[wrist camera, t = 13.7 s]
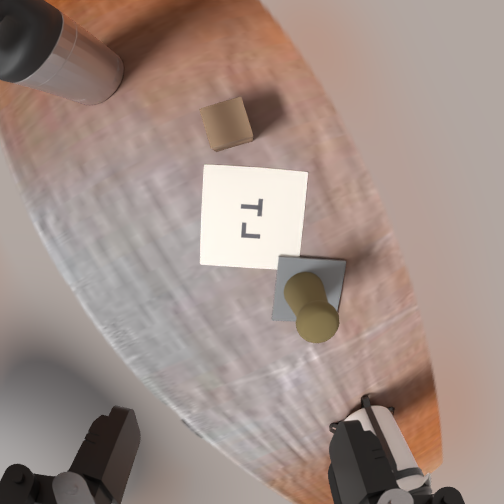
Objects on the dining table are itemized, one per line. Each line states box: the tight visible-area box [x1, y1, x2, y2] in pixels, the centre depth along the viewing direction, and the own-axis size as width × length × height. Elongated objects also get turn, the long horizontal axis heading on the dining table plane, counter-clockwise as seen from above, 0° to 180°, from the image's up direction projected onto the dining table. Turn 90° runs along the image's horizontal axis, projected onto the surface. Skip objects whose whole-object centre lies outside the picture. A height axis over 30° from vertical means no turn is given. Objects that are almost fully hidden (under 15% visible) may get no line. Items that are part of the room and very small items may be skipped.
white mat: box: [200, 165, 308, 269], centre depth 40 cm, size 14×14×1 cm
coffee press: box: [328, 396, 432, 504], centre depth 37 cm, size 17×16×30 cm
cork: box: [284, 272, 339, 343], centre depth 37 cm, size 6×6×11 cm
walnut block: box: [199, 97, 253, 152], centre depth 33 cm, size 5×5×6 cm
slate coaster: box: [272, 256, 346, 321], centre depth 42 cm, size 10×10×1 cm
